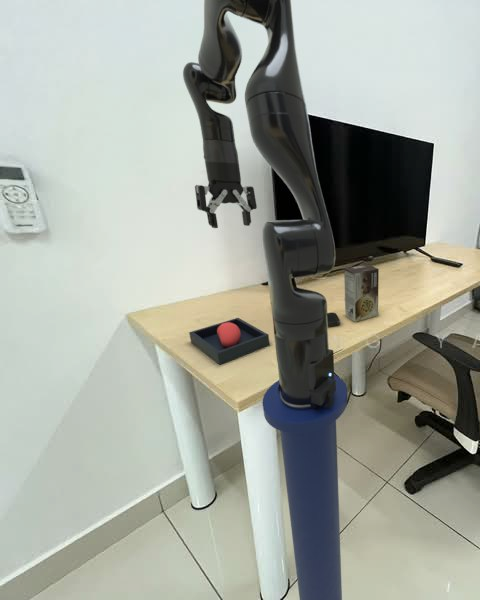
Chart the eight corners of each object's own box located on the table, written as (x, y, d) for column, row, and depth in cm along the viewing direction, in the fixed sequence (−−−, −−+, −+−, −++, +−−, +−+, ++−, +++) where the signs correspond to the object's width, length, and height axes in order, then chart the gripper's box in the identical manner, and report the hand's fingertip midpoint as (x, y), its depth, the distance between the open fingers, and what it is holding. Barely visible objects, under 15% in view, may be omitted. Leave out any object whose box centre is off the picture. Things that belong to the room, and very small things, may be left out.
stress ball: (246, 338, 86) (234, 318, 85) (245, 341, 78) (231, 319, 77) (227, 347, 84) (214, 327, 83) (224, 352, 76) (210, 329, 75)
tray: (269, 345, 81) (268, 334, 80) (219, 365, 72) (217, 353, 71) (239, 327, 90) (238, 317, 89) (191, 342, 81) (188, 332, 79)
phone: (340, 321, 94) (288, 328, 88) (340, 325, 94) (288, 331, 88) (335, 312, 100) (286, 317, 95) (335, 315, 101) (286, 320, 95)
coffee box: (367, 309, 107) (368, 263, 101) (378, 315, 102) (379, 268, 97) (344, 315, 101) (343, 267, 95) (355, 322, 97) (354, 272, 91)
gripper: (197, 158, 71) (209, 230, 77) (256, 163, 82) (263, 226, 87) (184, 158, 75) (196, 227, 81) (242, 163, 86) (249, 223, 92)
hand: (231, 226), depth 84 cm, fingers open, 8 cm apart
